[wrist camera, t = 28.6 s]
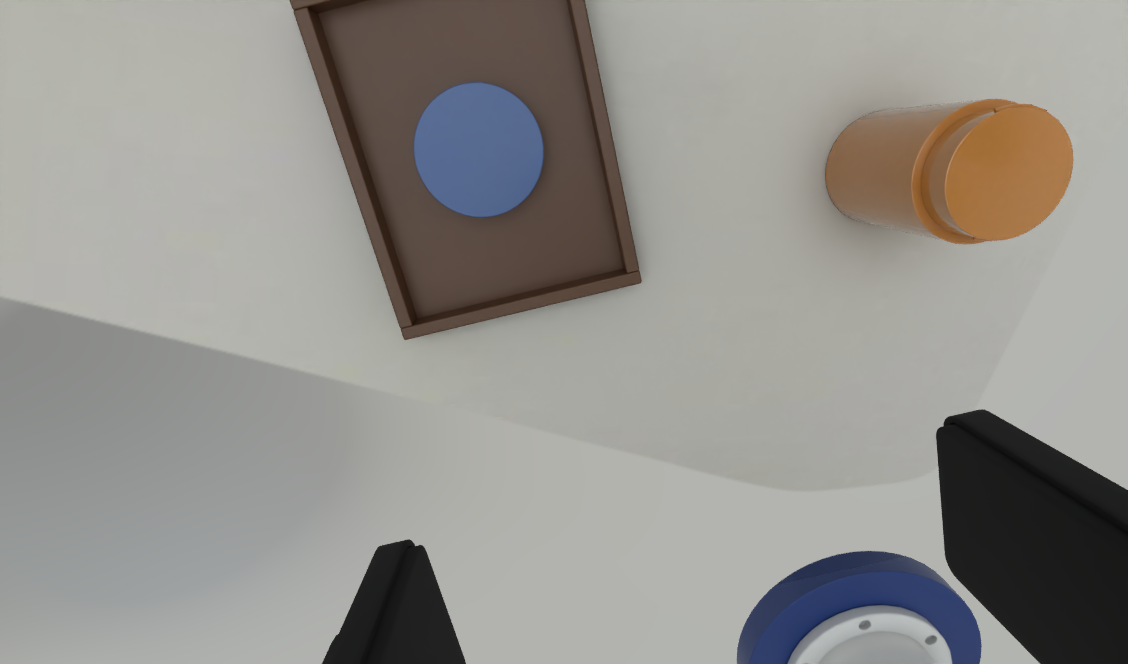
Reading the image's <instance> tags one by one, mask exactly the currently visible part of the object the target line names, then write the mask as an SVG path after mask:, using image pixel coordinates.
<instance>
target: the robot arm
mask: <svg viewBox="0 0 1128 664" xmlns="http://www.w3.org/2000/svg"><path fill="white" fill-rule="evenodd" d="M936 440H937V453H938V466H939V480H940V493H941V507H942V520H943V534H944V547H945V557H946V560H947V563H948V566H949V568H950V570H951V571H952V573H953V574H954V576H955V577H956V578H957V579H958V580H959V581H960V582H961V583H962V584H963V585H964V586H965V587H966V588H967V589H968V590H969V591H970V592H971V593H972V594H973V596H974V597H975V598H976V599H978V601H979V602H980V603H981V604H982V605H983V606H984V607H985V608H986V609H987V610H988V611H989V612H990V613H991V614H992V615H993V616H994V617H995V618H996V619H997V620H998V621H999V622H1000V623H1001V624H1002V625H1003V626H1004V627H1005V628H1006V629H1007V630H1008V631H1009V632H1010V633H1011V634H1012V635H1013V636H1014V637H1015V638H1016V639H1017V640H1018V641H1019V642H1020V643H1021V644H1022V645H1023V646H1024V648H1025V649H1026V650H1027V651H1028V652H1029V653H1030V654H1031V655H1032V656H1033V657H1034V658H1035V659H1036V660H1037V661H1038V662H1039V663H1040V664H1128V490H1126V489H1125V488H1123V487H1121V486H1119V485H1118V484H1116V483H1114V482H1112V481H1110V480H1109V479H1107V478H1105V477H1103V476H1102V475H1100V474H1098V473H1096V472H1094V471H1093V470H1091V469H1089V468H1087V467H1086V466H1084V465H1082V464H1081V463H1079V462H1077V461H1075V460H1073V459H1072V458H1070V457H1068V456H1066V455H1065V454H1063V453H1061V452H1059V451H1058V450H1056V449H1054V448H1052V447H1050V446H1049V445H1047V444H1045V443H1043V442H1042V441H1040V440H1038V439H1036V438H1035V437H1033V436H1031V435H1029V434H1028V433H1026V432H1024V431H1022V430H1020V429H1019V428H1017V427H1015V426H1013V425H1012V424H1010V423H1008V422H1006V421H1005V420H1002V419H1001V418H999V417H997V416H996V415H994V414H992V413H990V412H989V411H986V410H976V411H972V412H967V413H963V414H958V415H954V416H950V417H948V418H946V419H945V422H944V427H940V428H939V429H938V430H937V433H936ZM322 664H466V663H465V659H464V656H463V653H462V650H461V647H460V645H459V642H458V639H457V637H456V633H455V631H454V628H453V625H452V623H451V619H450V617H449V614H448V611H447V608H446V605H445V603H444V600H443V597H442V594H441V592H440V589H439V586H438V583H437V580H436V577H435V575H434V572H433V569H432V566H431V563H430V560H429V558H428V555H427V552H426V550H425V548H424V547H423V546H422V545H419V546H415V545H414V543H413V542H412V541H411V540H404V541H400V542H395V543H391V544H387V545H382V546H379V547H378V548H377V550H376V551H375V554H374V556H373V558H372V560H371V563H370V565H369V567H368V569H367V572H366V574H365V576H364V578H363V581H362V583H361V585H360V587H359V590H358V592H357V594H356V596H355V599H354V601H353V603H352V605H351V608H350V610H349V612H348V614H347V617H346V619H345V621H344V624H343V626H342V628H341V630H340V632H339V634H338V635H336V637H335V638H334V640H333V641H332V643H331V645H330V647H329V650H328V652H327V654H326V656H325V658H324V661H323V663H322ZM787 664H952V658H951V653H950V650H949V647H948V645H947V643H946V641H945V639H944V638H943V637H942V636H941V634H940V633H939V632H938V631H937V629H936V628H935V627H934V626H933V625H932V624H931V623H930V622H929V621H928V620H927V619H926V618H924V617H922V616H921V615H919V614H917V613H915V612H913V611H910V610H907V609H904V608H901V607H895V606H888V605H872V606H864V607H859V608H853V609H850V610H847V611H845V612H842V613H839V614H836V615H835V616H833V617H831V618H829V619H827V620H825V621H823V622H822V623H820V624H819V625H818V626H816V627H815V628H814V629H812V630H811V631H810V632H809V633H808V634H807V635H806V636H805V637H804V638H803V639H802V640H801V641H800V642H799V644H798V645H797V647H796V648H795V649H794V651H793V652H792V654H791V656H790V659H789V661H788V663H787Z"/></svg>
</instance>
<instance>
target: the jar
mask: <svg viewBox="0 0 1128 664" xmlns="http://www.w3.org/2000/svg"><path fill="white" fill-rule="evenodd" d="M1072 168H1073V150H1072V145H1071V141H1070V138H1069V136H1068V134H1067V132H1066V130H1065V128H1064V127H1063V126H1062V124H1061V123H1060V122H1059V120H1057V119H1056V118H1055V117H1053V116H1052V115H1051V114H1049V113H1048V112H1047V110H1045V109H1042V108H1039V107H1036V106H1033V105H1032V104H1017V103H1015V102H1012V101H1008V100H1002V99H986V100H976V101H967V102H957V103H948V104H939V105H929V106H920V107H910V108H901V109H892V110H882V111H877V112H873V113H870V114H867V115H865V116H863V117H861V118H859V119H857V120H856V121H854V122H853V123H852V124H850V125H849V126H848V127H847V128H846V129H845V130H844V131H843V132H842V133H841V135H840V136H839V137H838V138H837V140H836V142H835V143H834V145H833V147H832V149H831V151H830V154H829V157H828V160H827V165H826V185H827V190H828V193H829V196H830V198H831V200H832V202H833V203H834V205H835V206H836V207H837V208H838V209H839V210H840V211H841V212H842V213H843V214H844V215H846V216H848V217H849V218H851V219H854V220H856V221H860V222H865V223H869V224H873V225H878V226H882V227H886V228H891V229H895V230H899V231H904V232H908V233H912V234H917V235H921V236H925V237H930V238H934V239H938V240H943V241H947V242H951V243H956V244H975V243H981V242H984V241H997V240H1005V239H1010V238H1013V237H1017V236H1019V235H1021V234H1024V233H1026V232H1028V231H1029V230H1031V229H1033V228H1034V227H1036V226H1037V225H1039V224H1040V223H1041V222H1042V221H1043V220H1045V219H1046V218H1047V217H1048V216H1049V215H1050V214H1051V212H1052V211H1053V210H1054V209H1055V208H1056V206H1057V205H1058V204H1059V202H1060V200H1061V199H1062V197H1063V195H1064V193H1065V191H1066V189H1067V187H1068V184H1069V181H1070V178H1071V173H1072Z"/></svg>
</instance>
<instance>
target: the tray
mask: <svg viewBox="0 0 1128 664" xmlns="http://www.w3.org/2000/svg"><path fill="white" fill-rule="evenodd" d="M290 3H291V5H292V8H293V10H294V15H295V18H296V21H297V24H298V26H299V29H300V32H301V35H302V38H303V41H304V44H305V47H306V50H307V53H308V56H309V59H310V62H311V65H312V68H313V71H314V74H315V77H316V80H317V83H318V86H319V89H320V92H321V95H322V98H323V101H324V104H325V107H326V110H327V112H328V115H329V118H330V121H331V124H332V127H333V130H334V133H335V136H336V139H337V142H338V145H339V148H340V151H341V154H342V157H343V160H344V163H345V166H346V169H347V172H348V175H349V178H350V181H351V184H352V187H353V190H354V193H355V195H356V198H357V201H358V204H359V207H360V210H361V213H362V216H363V219H364V222H365V225H366V228H367V231H368V234H369V237H370V240H371V243H372V246H373V249H374V252H375V255H376V258H377V261H378V264H379V267H380V270H381V273H382V276H383V278H384V281H385V284H386V287H387V290H388V293H389V296H390V299H391V302H392V305H393V308H394V311H395V314H396V317H397V320H398V323H399V326H400V328H401V332H402V335H403V338H404V340H407V339H411V338H415V337H420V336H424V335H428V334H432V333H436V332H440V331H444V330H449V329H453V328H457V327H461V326H465V325H469V324H473V323H477V322H482V321H486V320H490V319H494V318H498V317H502V316H506V315H511V314H515V313H519V312H523V311H527V310H531V309H535V308H539V307H544V306H548V305H552V304H556V303H560V302H564V301H568V300H573V299H577V298H581V297H585V296H589V295H593V294H597V293H602V292H606V291H610V290H614V289H618V288H622V287H626V286H630V285H635V284H639V283H641V282H642V281H641V276H640V272H639V266H638V261H637V256H636V251H635V246H634V241H633V237H632V232H631V227H630V222H629V217H628V212H627V207H626V202H625V197H624V192H623V187H622V182H621V177H620V173H619V168H618V163H617V158H616V153H615V148H614V143H613V138H612V133H611V128H610V123H609V118H608V113H607V108H606V104H605V99H604V94H603V89H602V84H601V79H600V74H599V69H598V64H597V59H596V54H595V49H594V44H593V40H592V35H591V30H590V25H589V20H588V15H587V10H586V5H585V0H290ZM480 81H481V82H482V83H489V84H493V85H496V86H499V87H501V88H504V89H506V90H508V91H509V92H511V93H513V94H514V95H515V96H517V97H518V98H519V99H520V100H521V101H522V102H523V103H524V104H525V105H526V106H527V107H528V108H529V110H530V111H531V112H532V114H533V116H534V117H535V119H536V121H537V123H538V126H539V128H540V131H541V135H542V139H543V145H544V159H543V166H542V170H541V174H540V177H539V179H538V181H537V183H536V185H535V187H534V189H533V190H532V192H531V193H530V194H529V196H528V197H527V198H526V199H525V200H524V201H523V202H522V203H520V204H519V205H518V206H517V207H515V208H513V209H512V210H510V211H508V212H506V213H503V214H500V215H497V216H492V217H470V216H466V215H462V214H460V213H457V212H454V211H453V210H451V209H449V208H447V207H446V206H444V205H443V204H441V203H440V202H439V201H438V200H437V199H436V198H435V197H433V195H432V194H431V193H430V192H429V191H428V189H427V188H426V186H425V185H424V183H423V181H422V179H421V177H420V175H419V173H418V170H417V167H416V163H415V158H414V137H415V131H416V128H417V124H418V122H419V119H420V117H421V115H422V113H423V112H424V110H425V109H426V107H427V106H428V105H429V104H430V102H431V101H432V100H433V99H434V98H436V97H437V96H438V95H439V94H441V93H442V92H444V91H445V90H447V89H449V88H451V87H453V86H456V85H459V84H463V83H470V82H480Z"/></svg>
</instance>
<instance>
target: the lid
mask: <svg viewBox="0 0 1128 664" xmlns="http://www.w3.org/2000/svg"><path fill="white" fill-rule="evenodd" d="M414 158H415V163H416V167H417V170H418V173H419V175H420V177H421V179H422V181H423V183H424V185H425V186H426V188H427V189H428V191H429V192H430V193H431V194H432V195H433V197H435V198H436V199H437V200H438V201H439V202H440V203H441V204H443V205H444V206H446V207H447V208H449V209H451V210H453V211H454V212H457V213H460V214H462V215H466V216H470V217H492V216H497V215H500V214H503V213H506V212H508V211H510V210H512V209H513V208H515V207H517V206H518V205H519V204H520V203H522V202H523V201H524V200H525V199H526V198H527V197H528V196H529V194H530V193H531V192H532V190H533V189H534V187H535V185H536V183H537V181H538V179H539V177H540V174H541V170H542V166H543V159H544V145H543V139H542V135H541V131H540V128H539V126H538V123H537V121H536V119H535V117H534V116H533V114H532V112H531V111H530V110H529V108H528V107H527V106H526V105H525V104H524V103H523V102H522V101H521V100H520V99H519V98H518V97H517V96H515V95H514V94H513V93H511V92H509V91H508V90H506V89H504V88H501V87H499V86H496V85H493V84H489V83H482V82H481V81H480V82H470V83H463V84H459V85H456V86H453V87H451V88H449V89H447V90H445V91H444V92H442V93H441V94H439V95H438V96H437V97H436V98H434V99H433V100H432V101H431V102H430V104H429V105H428V106H427V107H426V109H425V110H424V112H423V113H422V115H421V117H420V119H419V122H418V124H417V128H416V131H415V137H414Z"/></svg>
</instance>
